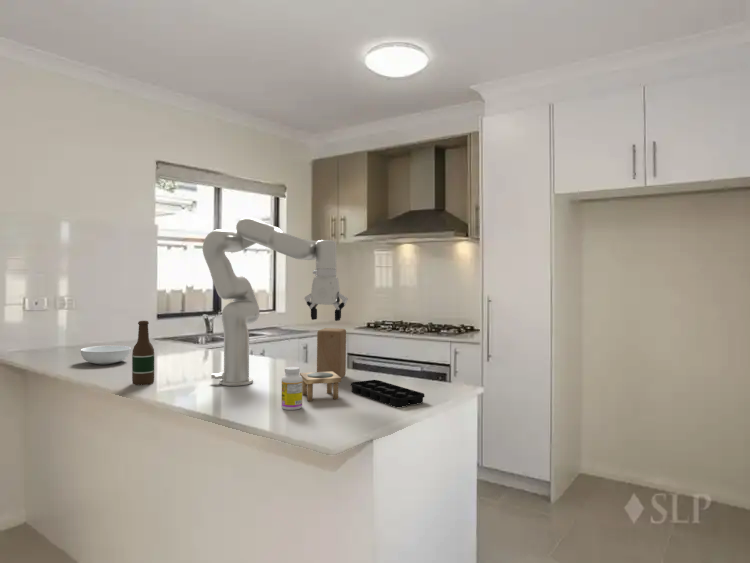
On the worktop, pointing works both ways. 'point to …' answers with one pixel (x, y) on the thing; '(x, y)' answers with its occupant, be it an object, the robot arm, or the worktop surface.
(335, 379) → the footstool
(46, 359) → the worktop surface
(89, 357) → the serving bowl
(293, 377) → the supplement bottle
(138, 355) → the beer bottle
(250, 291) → the robot arm
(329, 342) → the wooden block
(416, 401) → the egg carton
